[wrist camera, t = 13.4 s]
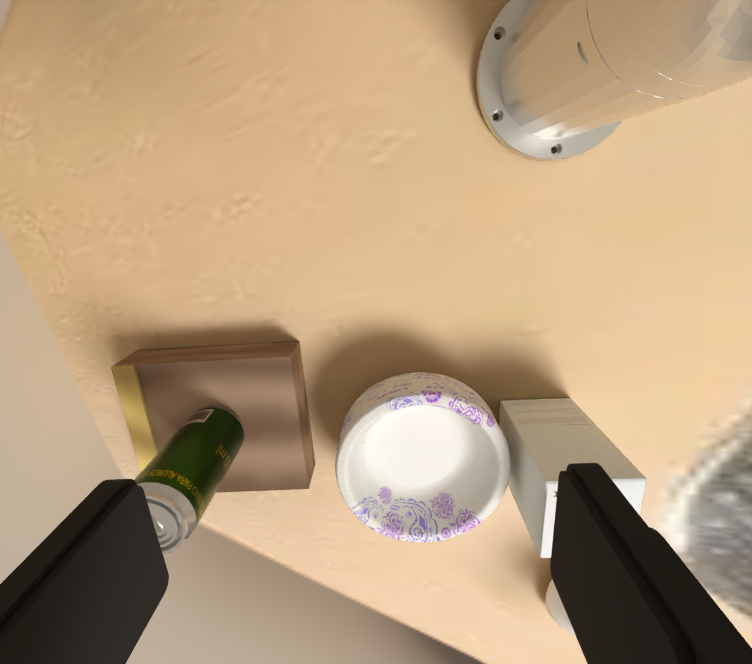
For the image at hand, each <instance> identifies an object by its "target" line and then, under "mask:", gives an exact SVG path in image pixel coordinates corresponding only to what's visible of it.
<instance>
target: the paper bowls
mask: <svg viewBox="0 0 752 664" xmlns="http://www.w3.org/2000/svg"><path fill="white" fill-rule="evenodd" d="M335 470H336V478H337V483H338V487H339V490H340V493H341V495H342V497H343V499H344V501H345V503H346V505H347V506H348V507H349V509H350V510H351V511H352V512H353V514H354V515H355V516H356V517H357V518H358V519H359V520H360V521H361V522H363V523H364V524H365V525H367V526H368V527H369V528H371V529H373V530H374V531H376V532H378V533H380V534H383V535H385V536H388V537H390V538H394V539H398V540H403V541H409V542H434V541H441V540H445V539H449V538H452V537H455V536H457V535H460V534H463V533H465V532H467V531H469V530H471V529H472V528H474V527H476V526H477V525H478V524H480V523H481V522H482V521H484V520H485V519H486V518H487V517H488V516H489V515H490V514H491V513H492V511H493V510H494V509H495V508H496V506H497V505H498V504H499V502H500V500H501V499H502V497H503V495H504V493H505V491H506V488H507V485H508V482H509V478H510V470H511V461H510V452H509V447H508V444H507V441H506V439H505V437H504V435H503V433H502V430H501V429H500V427H499V425H498V424H497V421H496V419H495V417H494V415H493V413H492V411H491V409H490V408H489V407H488V405H487V404H486V403H485V401H484V400H483V399H482V398H481V397H480V395H479V394H478V393H476V392H475V391H474V390H473V389H472V388H469V387H468V386H467V385H466V384H464V383H462V382H460V381H458V380H456V379H454V378H451V377H448V376H445V375H442V374H436V373H428V372H416V373H414V372H412V373H409V374H408V373H406V374H401V375H396V376H392V377H390V378H387V379H385V380H383V381H380V382H378V383H377V384H374V385H373V386H372V387H370V388H369V389H367V390H366V391H364V393H362V394H361V396H360V397H359V398H358V399H357V400H356V401H355V402H354V404H353V405H352V407H351V408H350V410H349V412H348V413H347V415H346V417H345V420H344V422H343V425H342V429H341V432H340V439H339V444H338V448H337V456H336V464H335Z"/></svg>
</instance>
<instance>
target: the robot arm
mask: <svg viewBox="0 0 752 664" xmlns="http://www.w3.org/2000/svg"><path fill="white" fill-rule="evenodd" d="M495 34H498V35H499V36H500V40H496V39H495V38H494V35H495ZM749 77H752V0H510V1H509V2H508V3H507V4H506V5H505V6H504V7H503V9H502V10H501V12H500V13H499V15H498V16H497V17H496V19H495V20H494V22H493V24H492V26H491V28H490V29H489V31H488V33H487V35H486V37H485V40H484V43H483V46H482V48H481V51H480V54H479V60H478V66H477V71H476V90H477V96H478V103H479V107H480V110H481V112H482V115H483V118H484V121H485V122H486V124H487V126H488V127H489V129H490V131H491V132H492V134H493V135H494V136H495V137H496V138H497V139H498V140H499V141H500V143H501V144H502V145H504V146H505V147H507V148H508V149H509V150H511V151H512V152H514V153H516V154H518V155H521V156H523V157H525V158H529V159H534V160H539V161H555V160H560V159H567V158H570V157H573V156H576V155H579V154H582V153H584V152H586V151H588V150H590V149H591V148H593V147H595V146H597V145H598V144H599V143H601V142H602V141H603V140H604V139H606V138H607V137H608V136H610V135H611V133H612V132H613V131H614V130H615V129H616V128H617V127H618V126H619V125H620V124H621V123H622V121H623V120H625V119H628V118H631V117H634V116H638V115H641V114H644V113H647V112H650V111H653V110H657V109H660V108H663V107H666V106H669V105H673V104H676V103H679V102H682V101H685V100H688V99H692V98H695V97H698V96H701V95H704V94H707V93H709V92H712V91H715V90H718V89H721V88H724V87H727V86H730V85H733V84H735V83H738V82H740V81H743V80H745V79H747V78H749ZM494 114H496V115H497V116H498V119H497V120H496V121H495V120H493V115H494ZM552 147H554V148H555V152H554V153H552V152H551V148H552ZM550 567H551V575H552V579H553V582H554V585H555V587H556V590H557V592H558V594H559V597H560V599H561V602H562V604H563V606H564V609H565V611H566V613H567V616H568V618H569V620H570V623H571V625H572V628H573V630H574V632H575V635H576V637H577V639H578V642H579V644H580V647H581V649H582V651H583V654H584V656H585V658H586V661H587V663H588V664H752V648H751V647H750V646H749V644H748V643H747V642H746V641H745V639H744V638H743V637H742V636H741V634H740V633H739V632H738V631H737V629H736V628H735V627H734V626H733V624H732V623H731V622H730V621H729V619H728V618H727V617H726V615H725V614H724V613H723V612H722V610H721V609H720V608H719V607H718V605H717V604H716V603H715V602H714V600H713V599H712V598H711V597H710V595H709V594H708V593H707V592H706V590H705V589H704V588H703V587H702V585H701V584H700V583H699V582H698V580H697V579H696V578H695V576H694V575H693V574H692V573H691V571H690V570H689V569H688V568H687V566H686V565H685V564H684V563H683V561H682V560H681V559H680V558H679V556H678V555H677V554H676V553H675V551H674V550H673V549H672V548H671V546H670V545H669V544H668V543H667V541H666V540H665V539H664V537H663V536H662V535H661V534H660V533H659V532H658V531H656V530H654V529H653V528H649V527H648V526H647V524H646V523H645V522H644V521H643V519H642V518H641V517H640V515H639V514H638V513H637V512H636V510H635V509H634V508H633V506H632V505H631V504H630V503H629V501H628V500H627V499H626V497H625V496H624V495H623V494H622V492H621V491H620V490H619V488H618V487H617V486H616V484H615V483H614V482H613V481H612V479H611V478H610V477H609V475H608V474H607V473H606V472H605V470H604V469H603V468H602V466H601V465H599V464H598V463H571V464H568V466H567V469H566V471H560V473H559V478H558V489H557V499H556V510H555V521H554V531H553V542H552V553H551V564H550ZM168 580H169V575H168V571H167V568H166V564H165V561H164V557H163V554H162V550H161V547H160V544H159V540H158V537H157V533H156V530H155V527H154V523H153V520H152V517H151V513H150V510H149V506H148V503H147V500H146V496H145V493H144V490H143V488H142V487H141V486H138V485H137V483H136V482H135V481H134V480H132V479H116V480H105V481H103V482H101V483H100V484H99V485H98V486H97V487H96V488H95V489H94V490H93V491H92V492H91V493H90V494H89V495H88V496H87V497H86V498H85V499H84V500H83V501H82V502H81V503H80V504H79V505H78V506H77V507H76V508H75V509H74V510H73V511H72V513H70V514H69V515H68V516H67V517H66V518H65V519H64V520H63V521H62V522H61V524H59V525H58V527H57V528H56V529H55V530H53V532H52V533H51V534H50V535H49V536H48V537H47V538H46V539H45V540H44V541H43V542H42V543H41V544H40V545H39V546H38V547H37V548H36V549H35V550H34V551H33V552H32V553H31V554H30V555H29V556H28V557H27V558H26V559H25V560H24V561H23V562H22V563H21V564H20V565H19V566H18V567H17V568H16V569H15V570H14V571H13V572H12V573H11V574H10V575H9V576H8V577H7V578H6V579H5V580H4V581H3V582H2V583H1V584H0V664H126V662H127V660H128V658H129V656H130V655H131V653H132V651H133V649H134V647H135V646H136V644H137V642H138V640H139V638H140V636H141V635H142V633H143V631H144V629H145V627H146V626H147V624H148V622H149V620H150V618H151V617H152V615H153V613H154V611H155V609H156V608H157V606H158V604H159V602H160V601H161V599H162V597H163V595H164V593H165V591H166V589H167V585H168Z"/></svg>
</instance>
